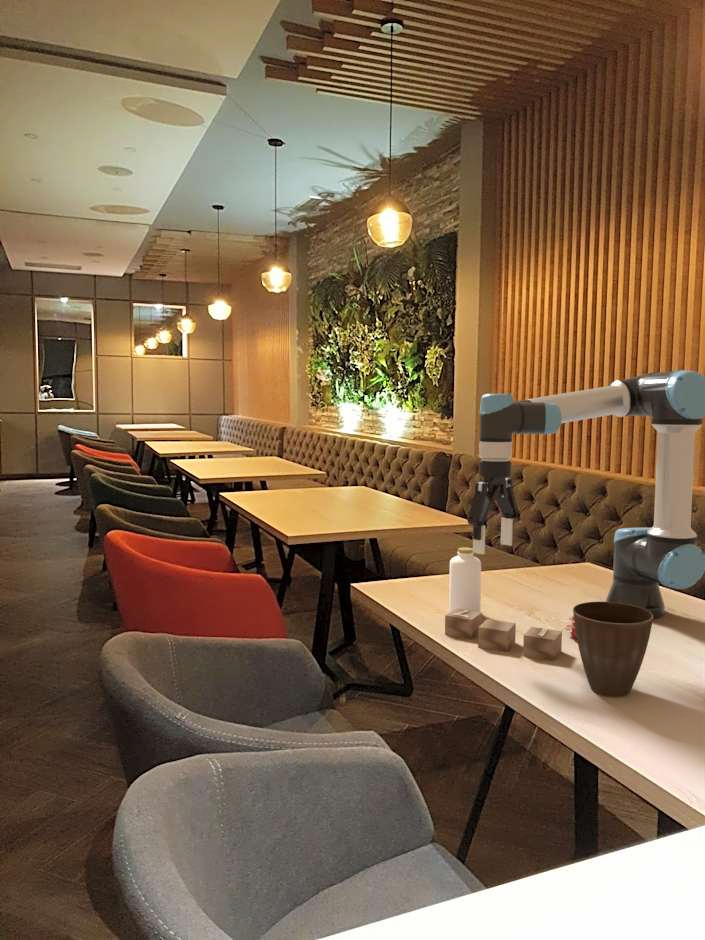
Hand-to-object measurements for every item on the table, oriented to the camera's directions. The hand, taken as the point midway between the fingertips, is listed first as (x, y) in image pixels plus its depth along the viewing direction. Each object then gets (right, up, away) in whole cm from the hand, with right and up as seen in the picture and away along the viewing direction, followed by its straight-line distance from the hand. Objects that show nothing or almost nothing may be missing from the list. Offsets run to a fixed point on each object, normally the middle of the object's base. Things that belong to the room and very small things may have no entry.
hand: (492, 549), depth 174 cm
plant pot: (+18, -25, -28) cm, 42 cm away
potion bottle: (-3, -20, +24) cm, 32 cm away
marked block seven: (-6, -22, +8) cm, 24 cm away
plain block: (+1, -23, -1) cm, 23 cm away
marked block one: (+10, -23, -7) cm, 26 cm away
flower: (+23, -22, +4) cm, 32 cm away
